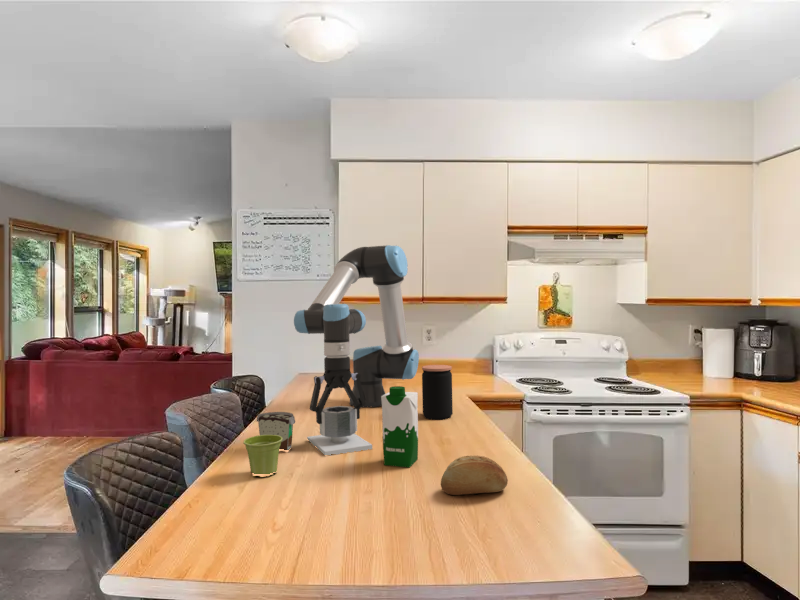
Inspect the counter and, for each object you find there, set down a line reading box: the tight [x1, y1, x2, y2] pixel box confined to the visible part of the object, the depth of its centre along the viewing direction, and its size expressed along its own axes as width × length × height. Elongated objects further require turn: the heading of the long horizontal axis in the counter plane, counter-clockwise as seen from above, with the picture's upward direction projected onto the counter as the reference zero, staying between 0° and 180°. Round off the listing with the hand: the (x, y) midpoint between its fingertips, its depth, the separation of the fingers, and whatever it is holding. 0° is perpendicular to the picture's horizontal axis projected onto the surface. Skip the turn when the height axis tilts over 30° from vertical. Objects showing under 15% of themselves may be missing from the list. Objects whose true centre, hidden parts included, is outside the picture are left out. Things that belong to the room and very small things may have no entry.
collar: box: [322, 405, 357, 438], centre depth 158 cm, size 9×9×7 cm
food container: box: [256, 411, 296, 450], centre depth 156 cm, size 12×6×10 cm, turn 65°
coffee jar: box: [421, 364, 454, 421], centre depth 192 cm, size 11×11×18 cm
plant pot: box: [243, 434, 282, 474], centre depth 133 cm, size 9×9×9 cm
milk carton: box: [381, 385, 419, 468], centre depth 140 cm, size 9×9×20 cm
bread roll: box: [440, 455, 509, 496], centre depth 118 cm, size 10×15×8 cm, turn 96°
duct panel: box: [306, 433, 373, 456], centre depth 158 cm, size 18×14×7 cm
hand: (338, 432), depth 158 cm, fingers closed on collar, 9 cm apart
